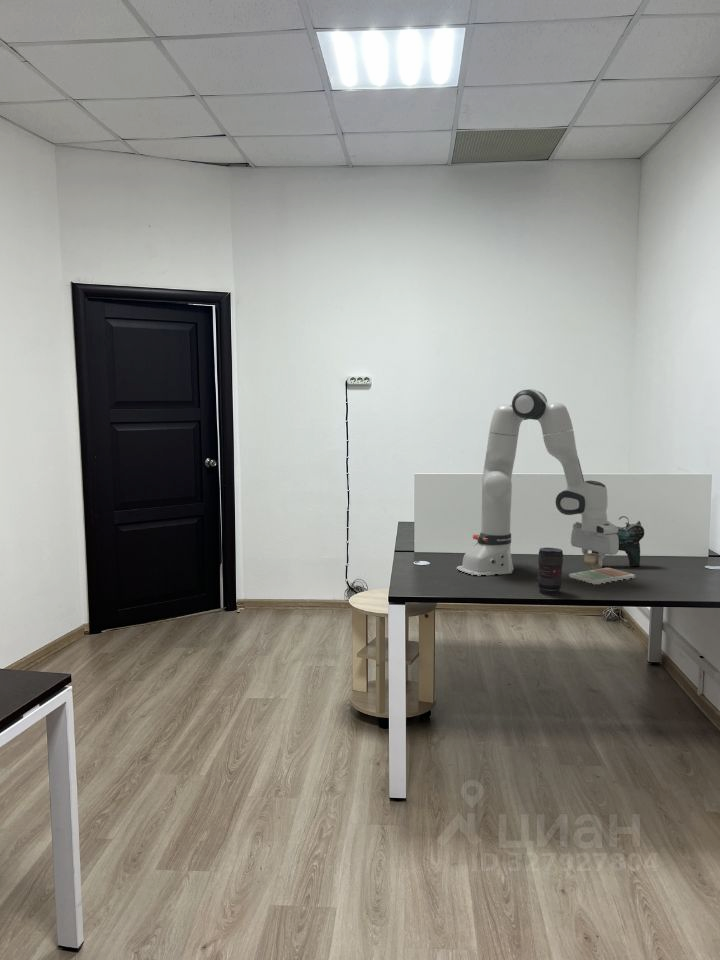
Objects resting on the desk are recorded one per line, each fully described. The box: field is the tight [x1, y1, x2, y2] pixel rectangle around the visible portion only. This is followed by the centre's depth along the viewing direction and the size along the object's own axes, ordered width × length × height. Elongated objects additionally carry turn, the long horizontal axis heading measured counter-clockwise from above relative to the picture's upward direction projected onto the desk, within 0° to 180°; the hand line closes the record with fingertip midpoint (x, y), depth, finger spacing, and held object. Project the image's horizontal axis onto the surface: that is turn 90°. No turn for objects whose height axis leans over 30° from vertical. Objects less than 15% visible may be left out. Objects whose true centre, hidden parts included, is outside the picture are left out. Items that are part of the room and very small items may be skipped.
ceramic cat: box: [591, 515, 645, 567], centre depth 286 cm, size 20×6×20 cm, turn 89°
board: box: [568, 567, 636, 586], centre depth 270 cm, size 20×13×2 cm, turn 118°
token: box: [583, 552, 603, 570], centre depth 267 cm, size 4×4×4 cm
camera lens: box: [537, 547, 564, 595], centre depth 249 cm, size 8×8×15 cm
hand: (593, 562), depth 267 cm, fingers closed on token, 4 cm apart
